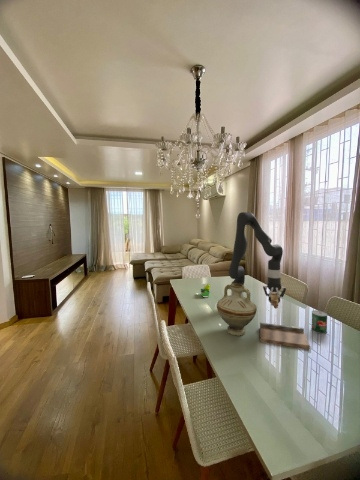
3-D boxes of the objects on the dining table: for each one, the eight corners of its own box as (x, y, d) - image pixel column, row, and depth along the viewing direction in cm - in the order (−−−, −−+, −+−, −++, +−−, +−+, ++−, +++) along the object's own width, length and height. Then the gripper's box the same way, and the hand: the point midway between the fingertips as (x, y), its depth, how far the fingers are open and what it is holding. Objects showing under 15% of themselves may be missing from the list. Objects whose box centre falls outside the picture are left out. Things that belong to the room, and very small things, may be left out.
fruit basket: (200, 293, 200) (200, 282, 199) (209, 293, 199) (209, 282, 198) (201, 298, 188) (201, 286, 187) (211, 298, 188) (210, 285, 187)
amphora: (262, 341, 120) (266, 289, 119) (223, 342, 116) (226, 289, 115) (243, 324, 143) (246, 280, 143) (210, 324, 139) (213, 279, 139)
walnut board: (260, 341, 118) (260, 334, 118) (260, 328, 133) (260, 321, 133) (309, 349, 110) (309, 341, 110) (302, 333, 125) (303, 327, 125)
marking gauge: (272, 309, 126) (272, 298, 126) (270, 302, 138) (270, 291, 137) (279, 309, 125) (279, 298, 125) (277, 302, 136) (277, 292, 136)
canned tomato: (323, 335, 123) (323, 317, 122) (308, 329, 130) (309, 312, 129) (329, 331, 127) (329, 313, 126) (315, 325, 134) (315, 309, 133)
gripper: (262, 277, 132) (262, 303, 133) (287, 278, 127) (287, 305, 128) (261, 274, 139) (262, 299, 140) (285, 275, 134) (285, 301, 135)
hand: (274, 302), depth 134 cm, fingers closed on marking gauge, 4 cm apart
